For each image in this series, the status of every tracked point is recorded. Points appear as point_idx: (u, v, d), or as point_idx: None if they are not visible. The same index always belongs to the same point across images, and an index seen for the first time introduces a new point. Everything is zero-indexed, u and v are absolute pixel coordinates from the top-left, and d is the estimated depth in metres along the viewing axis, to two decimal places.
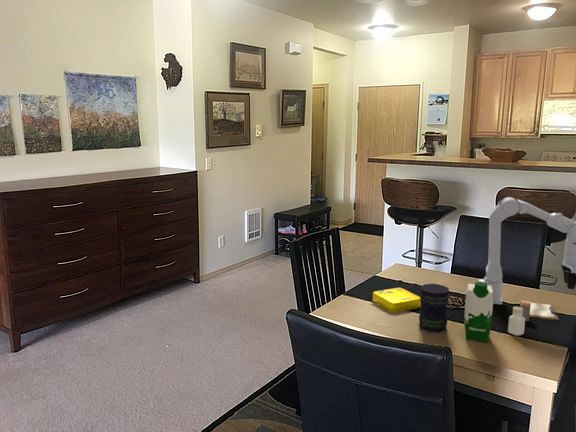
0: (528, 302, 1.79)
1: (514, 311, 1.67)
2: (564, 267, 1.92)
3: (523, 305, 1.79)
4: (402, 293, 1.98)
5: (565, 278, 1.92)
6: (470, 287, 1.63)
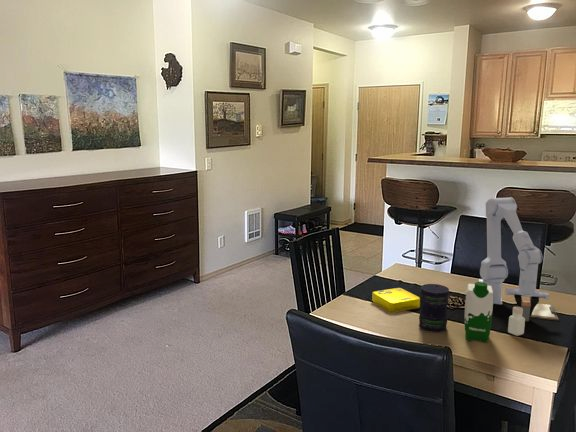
0: (528, 302, 1.79)
1: (514, 311, 1.67)
2: (530, 297, 1.81)
3: (523, 305, 1.79)
4: (401, 293, 1.98)
5: None
6: (470, 287, 1.63)
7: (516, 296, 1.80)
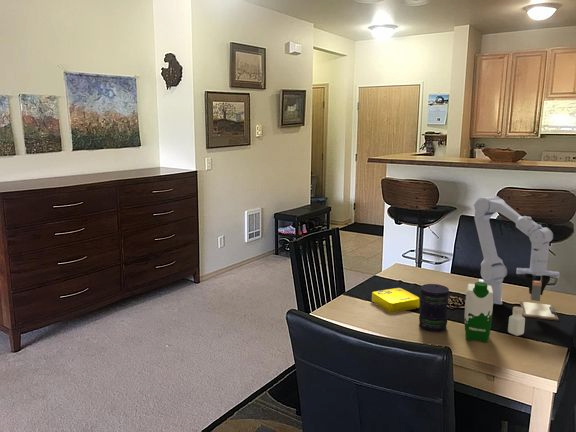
0: (539, 282, 1.81)
1: (514, 311, 1.67)
2: (541, 277, 1.83)
3: (534, 285, 1.81)
4: (401, 293, 1.98)
5: None
6: (470, 287, 1.63)
7: (527, 275, 1.82)
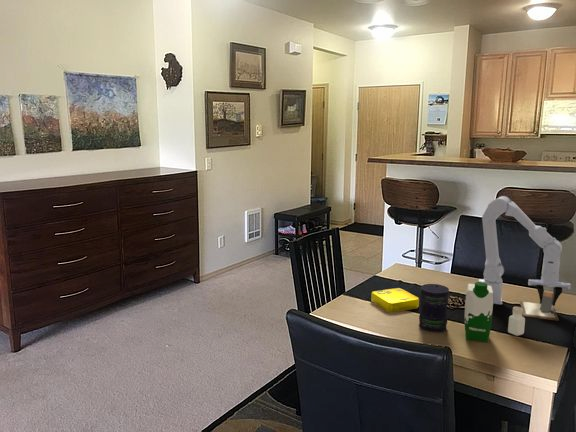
0: (551, 294, 1.85)
1: (514, 311, 1.67)
2: (553, 288, 1.88)
3: (544, 296, 1.85)
4: (400, 293, 1.97)
5: None
6: (470, 287, 1.63)
7: (538, 286, 1.87)
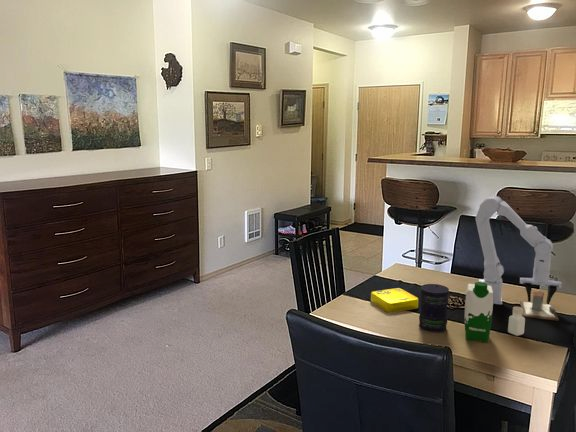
0: (540, 293, 1.87)
1: (514, 311, 1.67)
2: (548, 286, 1.90)
3: (534, 295, 1.87)
4: (400, 293, 1.97)
5: (547, 298, 1.90)
6: (470, 287, 1.63)
7: (526, 284, 1.90)
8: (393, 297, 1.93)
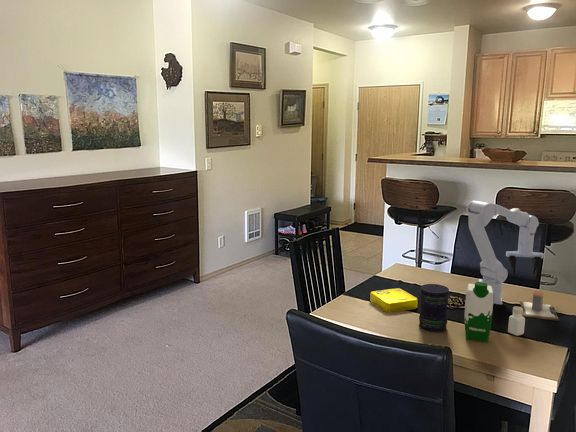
0: (540, 293, 1.87)
1: (514, 311, 1.67)
2: (532, 258, 2.03)
3: (534, 295, 1.87)
4: (399, 294, 1.97)
5: (531, 269, 2.03)
6: (470, 287, 1.63)
7: (511, 257, 2.02)
8: (392, 297, 1.93)
